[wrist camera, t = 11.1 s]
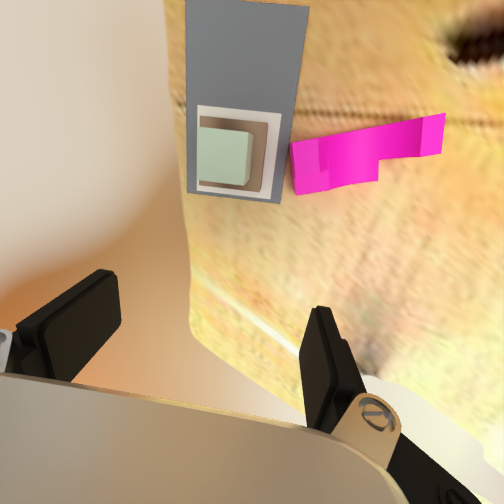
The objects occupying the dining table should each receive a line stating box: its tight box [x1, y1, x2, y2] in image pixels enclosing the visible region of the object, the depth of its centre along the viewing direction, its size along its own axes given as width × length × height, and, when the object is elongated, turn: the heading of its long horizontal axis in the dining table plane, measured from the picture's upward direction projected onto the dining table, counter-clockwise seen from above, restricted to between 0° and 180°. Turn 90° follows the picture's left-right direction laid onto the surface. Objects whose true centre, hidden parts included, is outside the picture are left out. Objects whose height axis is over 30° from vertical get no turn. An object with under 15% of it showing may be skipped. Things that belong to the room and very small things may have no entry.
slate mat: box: [185, 0, 309, 204], centre depth 31 cm, size 14×22×1 cm, turn 174°
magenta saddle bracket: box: [289, 113, 446, 195], centre depth 29 cm, size 15×6×8 cm, turn 100°
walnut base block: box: [199, 115, 268, 192], centre depth 31 cm, size 8×8×4 cm
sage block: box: [197, 127, 254, 186], centre depth 27 cm, size 5×5×6 cm
